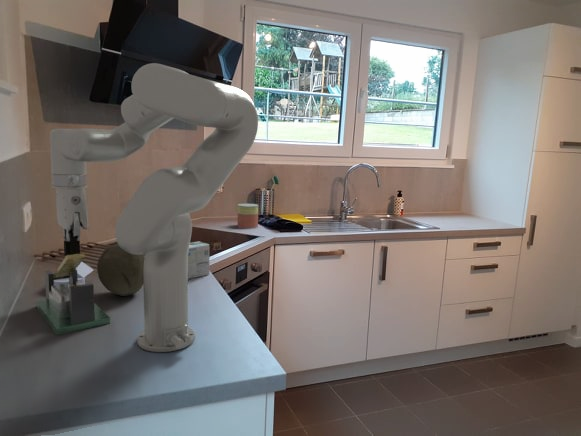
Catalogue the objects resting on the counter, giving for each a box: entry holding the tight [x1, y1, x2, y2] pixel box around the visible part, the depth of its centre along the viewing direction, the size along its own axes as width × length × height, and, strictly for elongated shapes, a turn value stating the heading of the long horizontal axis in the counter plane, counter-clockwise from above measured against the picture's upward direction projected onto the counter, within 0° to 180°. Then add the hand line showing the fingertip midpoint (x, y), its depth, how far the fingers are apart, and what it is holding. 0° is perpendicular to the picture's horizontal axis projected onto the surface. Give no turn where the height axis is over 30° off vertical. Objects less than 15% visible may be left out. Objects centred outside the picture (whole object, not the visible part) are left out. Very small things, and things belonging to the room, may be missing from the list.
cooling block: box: [35, 269, 111, 336], centre depth 114 cm, size 22×12×10 cm, turn 40°
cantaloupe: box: [96, 243, 145, 297], centre depth 130 cm, size 14×14×15 cm
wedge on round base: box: [54, 261, 94, 290], centre depth 136 cm, size 9×7×13 cm
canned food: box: [236, 203, 259, 230], centre depth 243 cm, size 11×11×12 cm
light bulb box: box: [188, 240, 210, 280], centre depth 151 cm, size 11×7×11 cm, turn 134°
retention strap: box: [53, 252, 86, 280], centre depth 114 cm, size 19×4×2 cm, turn 39°
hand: (72, 256), depth 109 cm, fingers closed
